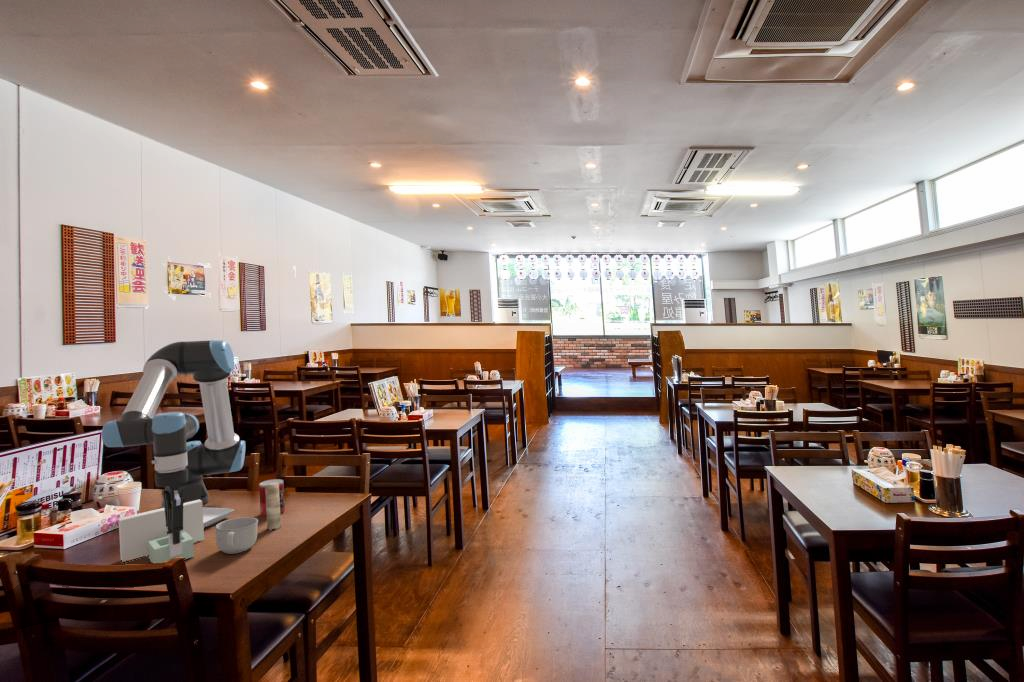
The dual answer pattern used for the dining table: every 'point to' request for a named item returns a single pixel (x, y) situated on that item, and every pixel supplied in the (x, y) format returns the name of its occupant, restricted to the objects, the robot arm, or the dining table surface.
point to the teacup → (236, 534)
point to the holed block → (161, 548)
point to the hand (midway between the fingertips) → (175, 554)
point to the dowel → (273, 506)
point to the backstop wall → (156, 529)
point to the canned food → (263, 495)
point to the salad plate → (214, 515)
